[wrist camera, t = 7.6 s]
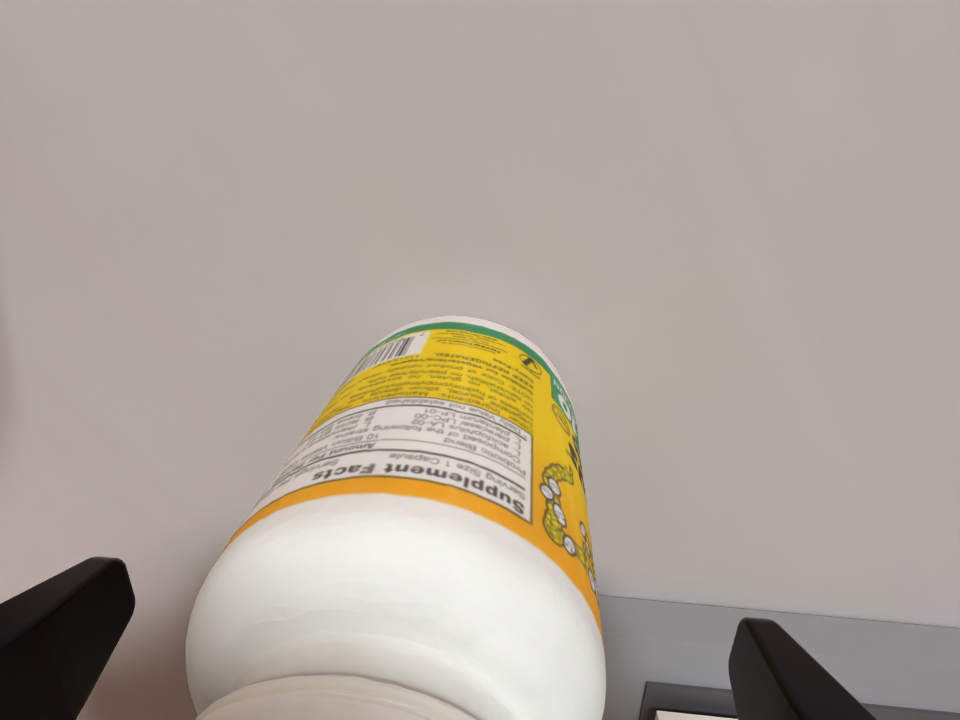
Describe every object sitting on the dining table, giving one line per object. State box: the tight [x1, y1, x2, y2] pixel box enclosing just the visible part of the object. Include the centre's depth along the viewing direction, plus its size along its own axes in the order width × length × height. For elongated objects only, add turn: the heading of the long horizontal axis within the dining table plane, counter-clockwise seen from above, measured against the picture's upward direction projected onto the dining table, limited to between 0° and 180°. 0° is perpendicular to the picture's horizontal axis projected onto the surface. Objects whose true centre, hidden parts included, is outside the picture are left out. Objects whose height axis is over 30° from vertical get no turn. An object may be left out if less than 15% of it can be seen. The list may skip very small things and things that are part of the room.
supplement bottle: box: [185, 316, 606, 720], centre depth 9 cm, size 5×5×10 cm
